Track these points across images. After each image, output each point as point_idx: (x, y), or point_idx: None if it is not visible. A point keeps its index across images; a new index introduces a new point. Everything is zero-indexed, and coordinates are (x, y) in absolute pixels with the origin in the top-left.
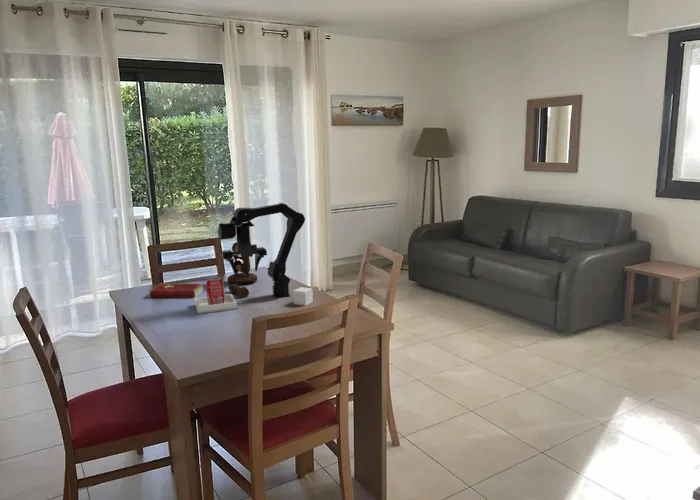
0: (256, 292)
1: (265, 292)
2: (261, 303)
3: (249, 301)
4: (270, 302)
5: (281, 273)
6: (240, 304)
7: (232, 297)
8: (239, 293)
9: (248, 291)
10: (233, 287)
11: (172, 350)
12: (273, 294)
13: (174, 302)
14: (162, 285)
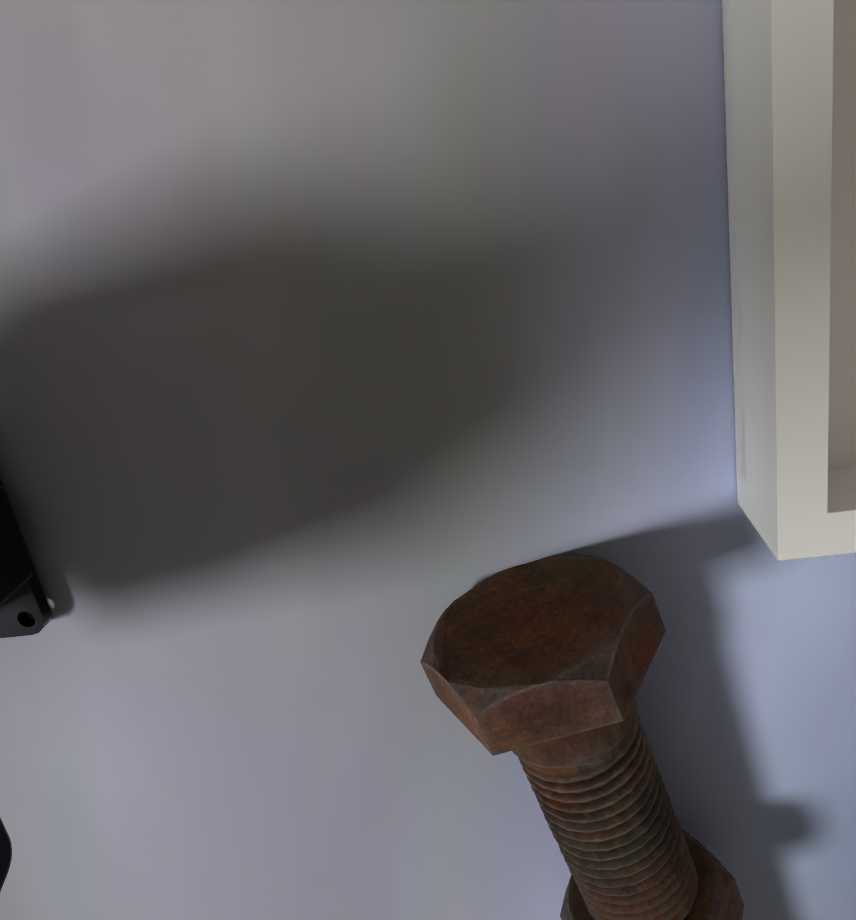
0: (319, 790)
1: (184, 753)
2: (211, 145)
3: (436, 347)
4: (46, 166)
5: None
6: (614, 194)
7: (806, 273)
8: (608, 597)
9: (433, 653)
10: (685, 911)
11: None
12: (12, 525)
13: None
14: None
